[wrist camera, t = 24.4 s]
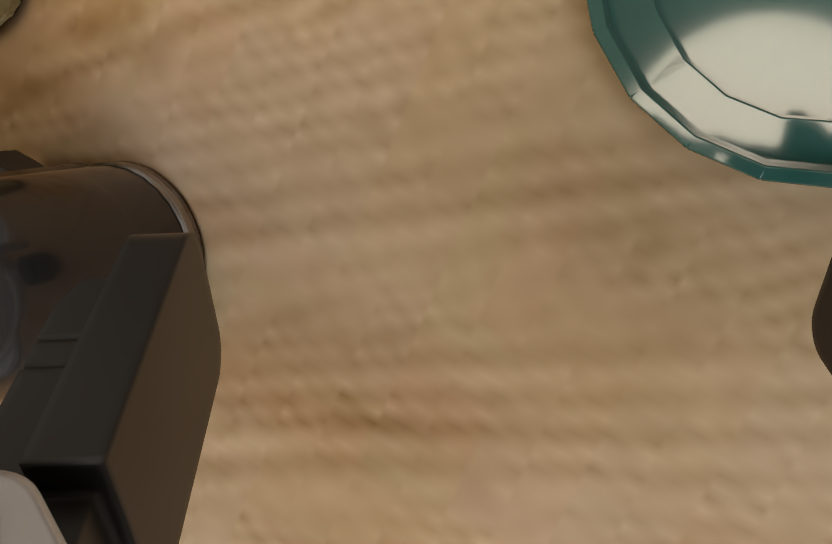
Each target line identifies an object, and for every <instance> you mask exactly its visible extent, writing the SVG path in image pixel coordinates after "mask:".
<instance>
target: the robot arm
mask: <svg viewBox="0 0 832 544" xmlns="http://www.w3.org/2000/svg"><path fill="white" fill-rule="evenodd" d="M812 333H813V339H814V344H815V347H816V350H817V352H818V354H819V356H820V358H821V360H822V361H823V363H824V364H825V366H826V367H827V369H828V370H829V372H830V373H831V375H832V258H831V261H830V264H829V266H828V269H827V272H826V275H825V278H824V281H823V284H822V286H821V289H820V292H819V295H818V298H817V301H816V304H815V307H814V310H813V316H812ZM220 366H221V342H220V333H219V328H218V323H217V318H216V314H215V309H214V305H213V300H212V296H211V291H210V287H209V282H208V278H207V273H206V269H205V264H204V256H203V249H202V244H201V239H200V236H199V232H198V229H197V227H196V224H195V221H194V219H193V217H192V215H191V213H190V211H189V209H188V207H187V206H186V204H185V203H184V201H183V200H182V198H181V197H180V196H179V194H178V193H177V192H176V191H175V189H174V188H173V187H172V186H171V185H170V184H169V183H168V182H167V181H166V180H164V179H163V178H162V177H161V176H159V175H158V174H157V173H155V172H153V171H152V170H150V169H148V168H146V167H144V166H141V165H138V164H135V163H131V162H124V161H114V162H105V163H98V164H93V165H90V166H87V167H86V166H85V165H83V164H81V163H73V164H64V165H55V166H47V167H45V166H43V165H42V164H40V163H38V162H36V161H35V160H33V159H31V158H29V157H28V156H26V155H24V154H22V153H21V152H19V151H17V150H11V151H0V403H1V405H0V544H179V540H180V536H181V532H182V528H183V524H184V519H185V515H186V511H187V507H188V503H189V499H190V495H191V491H192V487H193V483H194V479H195V474H196V470H197V466H198V462H199V458H200V454H201V450H202V446H203V442H204V438H205V433H206V429H207V425H208V421H209V417H210V413H211V409H212V405H213V401H214V397H215V393H216V388H217V384H218V380H219V375H220Z"/></svg>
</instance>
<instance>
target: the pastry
mask: <svg viewBox="0 0 832 544" xmlns="http://www.w3.org/2000/svg"><path fill="white" fill-rule="evenodd" d="M20 3H21V0H0V26H1V25H2V24H3V23H4V22H5V21H6V20H7V19H9V18H10V17H12V16H13V14H14V12H15V10H16V9H17V7H18V6H19V4H20Z"/></svg>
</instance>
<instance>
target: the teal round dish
mask: <svg viewBox="0 0 832 544" xmlns="http://www.w3.org/2000/svg"><path fill="white" fill-rule="evenodd" d="M587 5H588V10H589V15H590V20H591V25H592V30H593V32H594V36H595V37H596V39H597V41H598V43H599V44H600V46H601V48H602V50H603V52H604V53H605V55H606V57H607V59H608V60H609V62H610V64H611V66H612V68H613V69H614V71H615V73H616V75H617V76H618V78H619V80H620V82H621V84H622V85H623V87H624V89H625V91H626V92H627V94H628V96H629V97H631V100H632V101H633V102H635V103H636V104H637V105H638V106H639V107H640V108H641V109H642V110H644V111H645V112H646V113H647V114H648V115H649V116H650V117H651V118H653V119H654V120H655V121H656V122H657V123H658V124H659V125H660V126H662V127H663V128H664V129H665V130H666V131H667V132H668V133H669V134H671V135H672V136H673V137H674V138H675V139H676V140H677V141H678V142H680V143H681V144H682V145H683V146H684V147H685V148H687V149H689V150H691V151H693V152H696V153H698V154H700V155H702V156H705V157H707V158H709V159H712V160H714V161H716V162H719V163H721V164H723V165H726V166H728V167H730V168H733V169H735V170H737V171H740V172H742V173H744V174H747V175H749V176H751V177H754V178H756V179H758V180H760V179H761V180H762V181H771V182H780V183H789V184H799V185H808V186H817V187H827V188H832V0H587Z"/></svg>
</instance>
